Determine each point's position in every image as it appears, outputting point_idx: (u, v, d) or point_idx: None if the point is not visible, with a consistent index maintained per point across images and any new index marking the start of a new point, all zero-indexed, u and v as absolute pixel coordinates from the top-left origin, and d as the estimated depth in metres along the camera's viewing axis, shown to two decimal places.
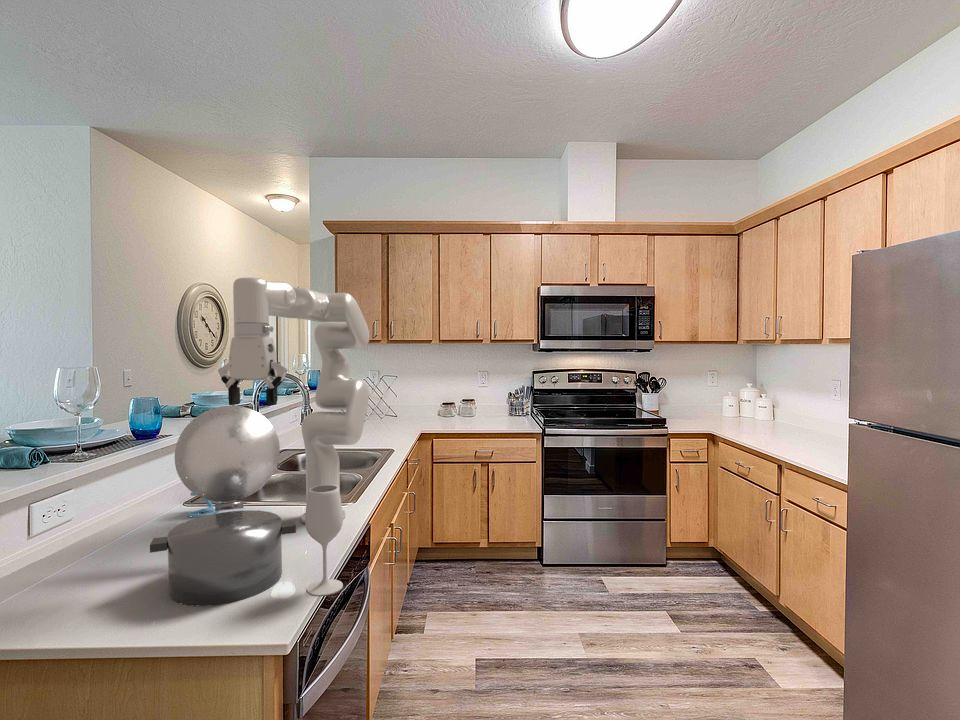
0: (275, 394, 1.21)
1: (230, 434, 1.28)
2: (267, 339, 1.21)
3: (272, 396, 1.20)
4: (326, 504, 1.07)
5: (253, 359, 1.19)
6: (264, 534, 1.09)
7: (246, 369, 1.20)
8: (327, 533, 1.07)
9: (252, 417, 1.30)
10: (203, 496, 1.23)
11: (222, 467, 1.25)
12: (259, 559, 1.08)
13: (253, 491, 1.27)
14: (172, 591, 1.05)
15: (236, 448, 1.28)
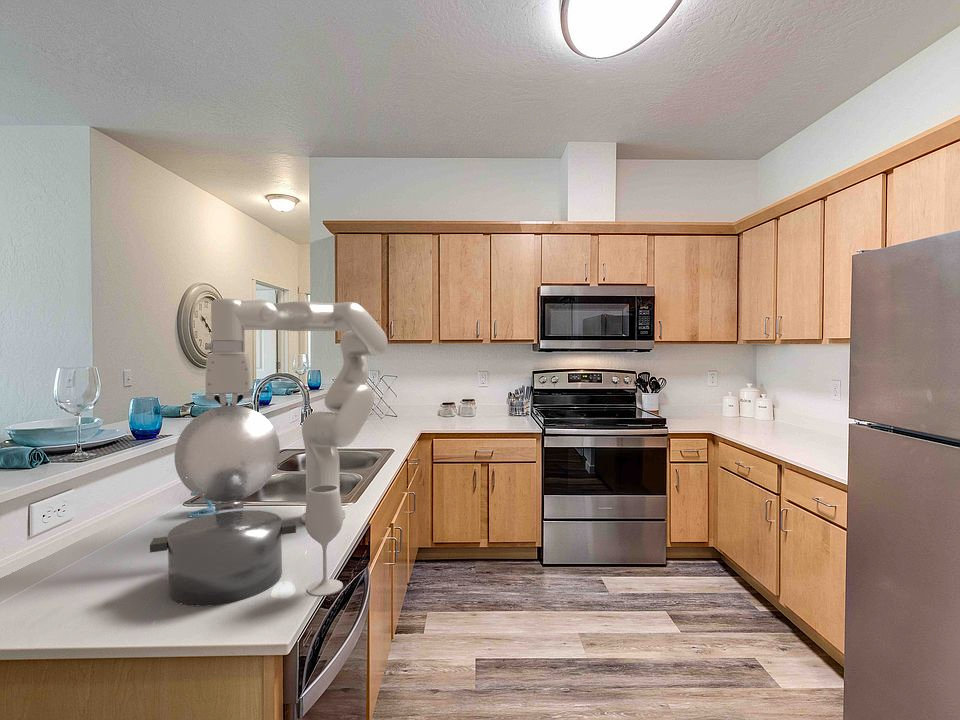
0: None
1: (230, 434, 1.28)
2: None
3: None
4: (326, 504, 1.07)
5: None
6: (264, 534, 1.09)
7: None
8: (327, 533, 1.07)
9: (252, 417, 1.30)
10: (203, 496, 1.23)
11: (222, 467, 1.25)
12: (259, 559, 1.08)
13: (253, 491, 1.27)
14: (172, 591, 1.05)
15: (236, 448, 1.27)
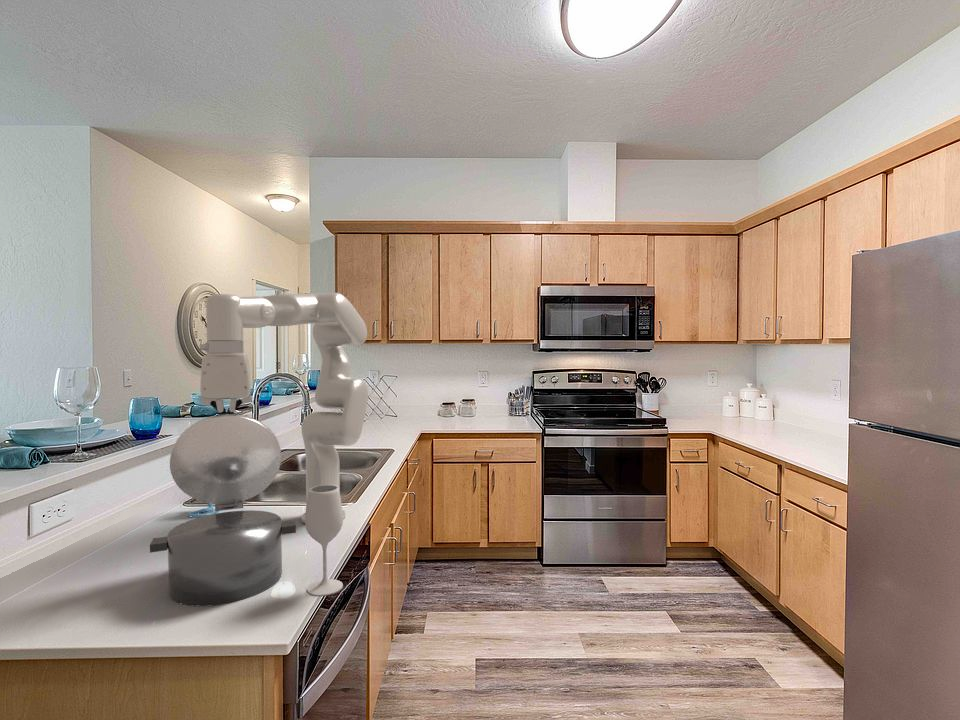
0: None
1: (228, 445, 1.19)
2: None
3: None
4: (326, 504, 1.07)
5: None
6: (264, 534, 1.09)
7: None
8: (327, 533, 1.07)
9: (252, 428, 1.19)
10: (202, 500, 1.21)
11: (220, 475, 1.21)
12: (259, 559, 1.08)
13: (253, 495, 1.25)
14: (172, 591, 1.05)
15: (235, 457, 1.20)
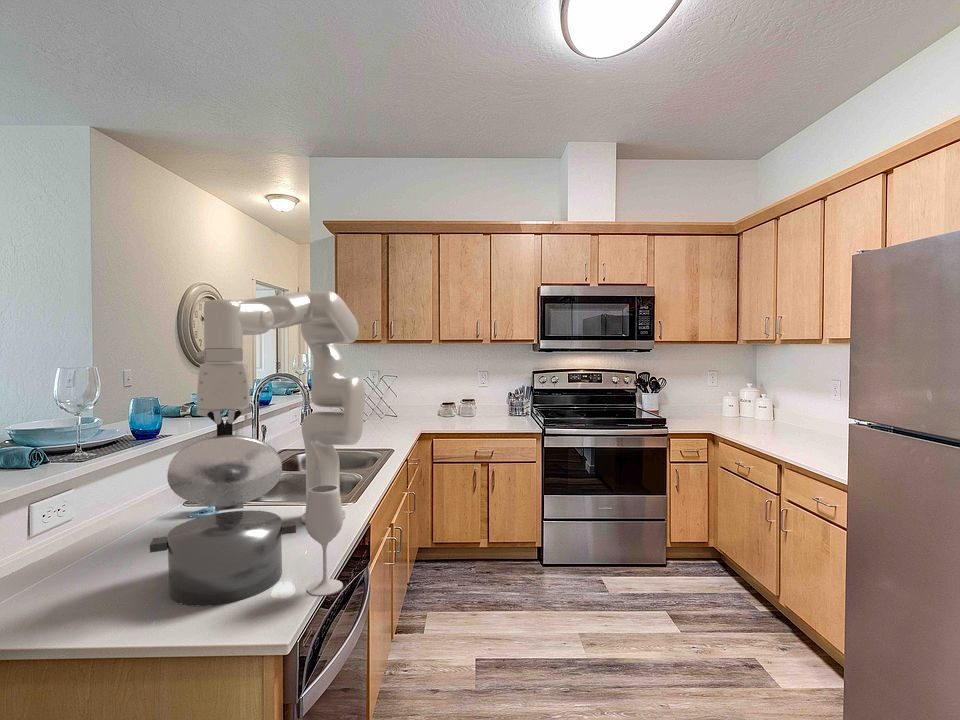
0: (217, 430, 1.13)
1: (227, 462, 1.14)
2: None
3: None
4: (326, 504, 1.07)
5: None
6: (264, 534, 1.09)
7: None
8: (327, 533, 1.07)
9: (252, 448, 1.14)
10: (202, 504, 1.21)
11: (220, 485, 1.18)
12: (259, 559, 1.08)
13: (253, 498, 1.25)
14: (172, 591, 1.05)
15: (234, 471, 1.17)
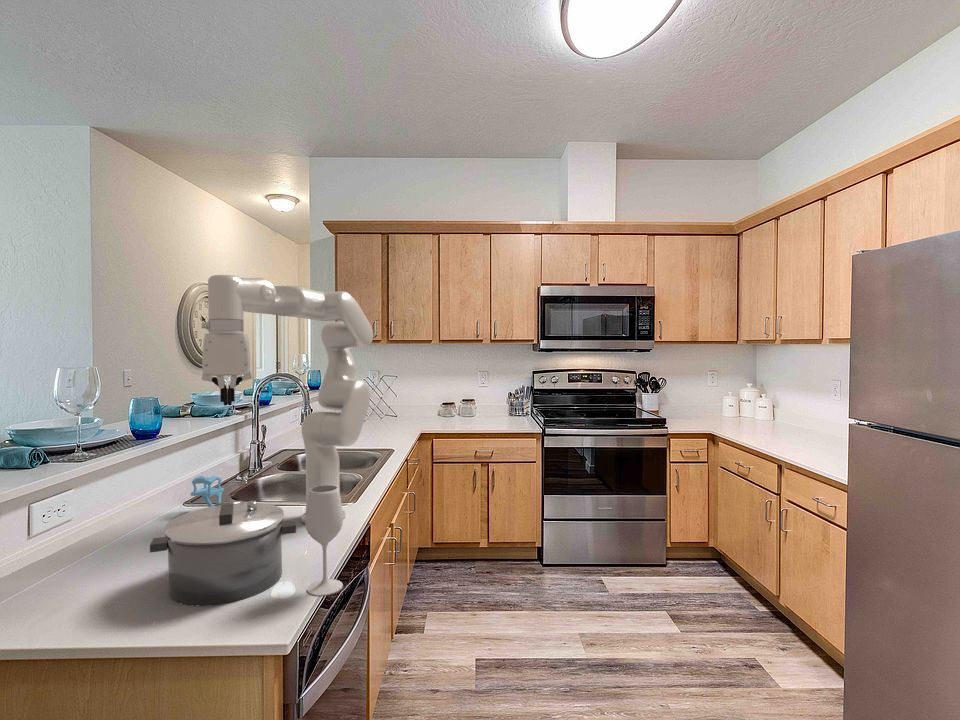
0: None
1: None
2: None
3: None
4: (326, 504, 1.07)
5: None
6: (264, 534, 1.09)
7: None
8: (327, 533, 1.07)
9: None
10: None
11: None
12: (259, 559, 1.08)
13: None
14: (172, 591, 1.05)
15: None
